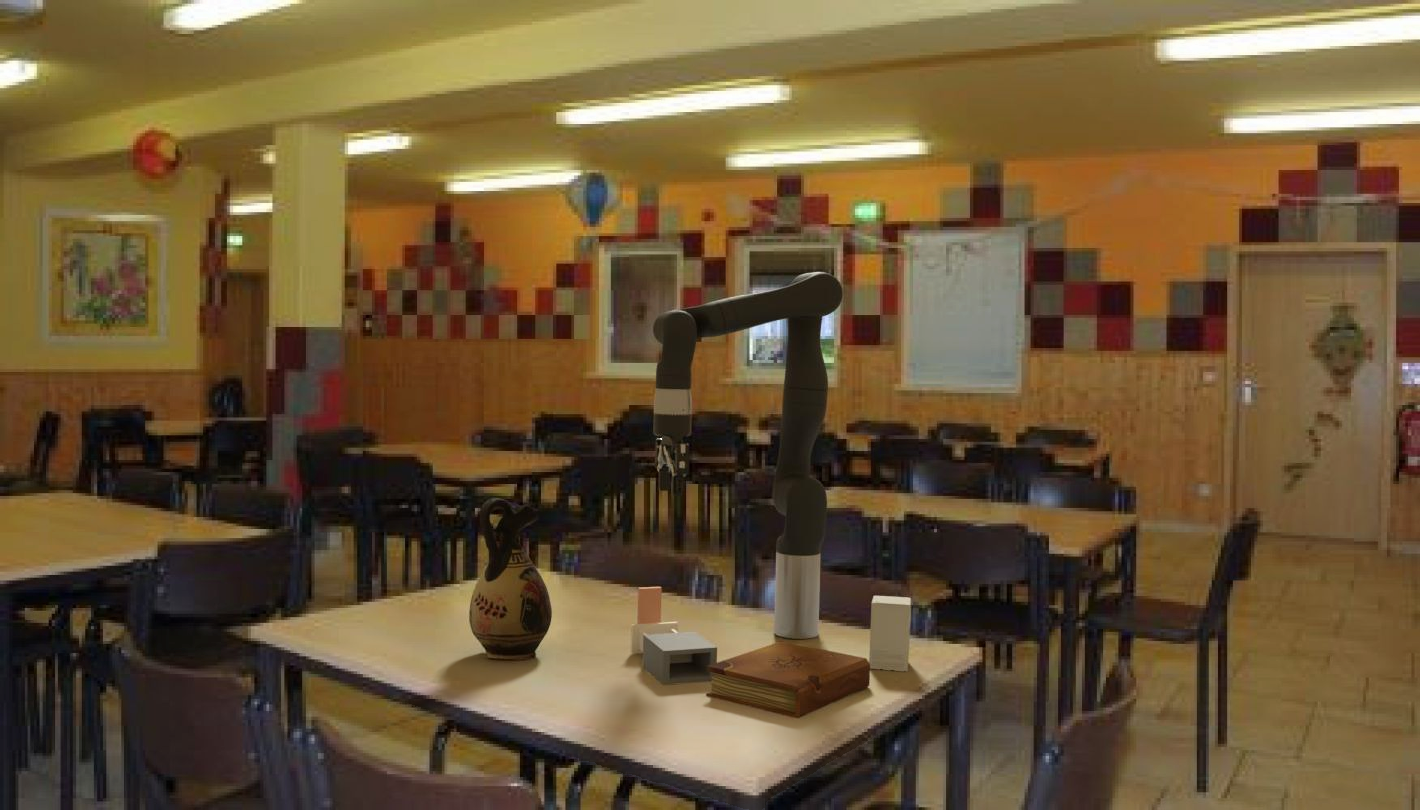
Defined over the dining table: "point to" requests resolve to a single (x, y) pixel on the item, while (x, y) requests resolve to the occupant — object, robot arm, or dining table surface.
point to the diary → (788, 678)
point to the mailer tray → (652, 622)
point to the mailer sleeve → (668, 644)
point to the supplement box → (890, 633)
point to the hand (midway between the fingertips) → (670, 493)
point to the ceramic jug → (509, 589)
